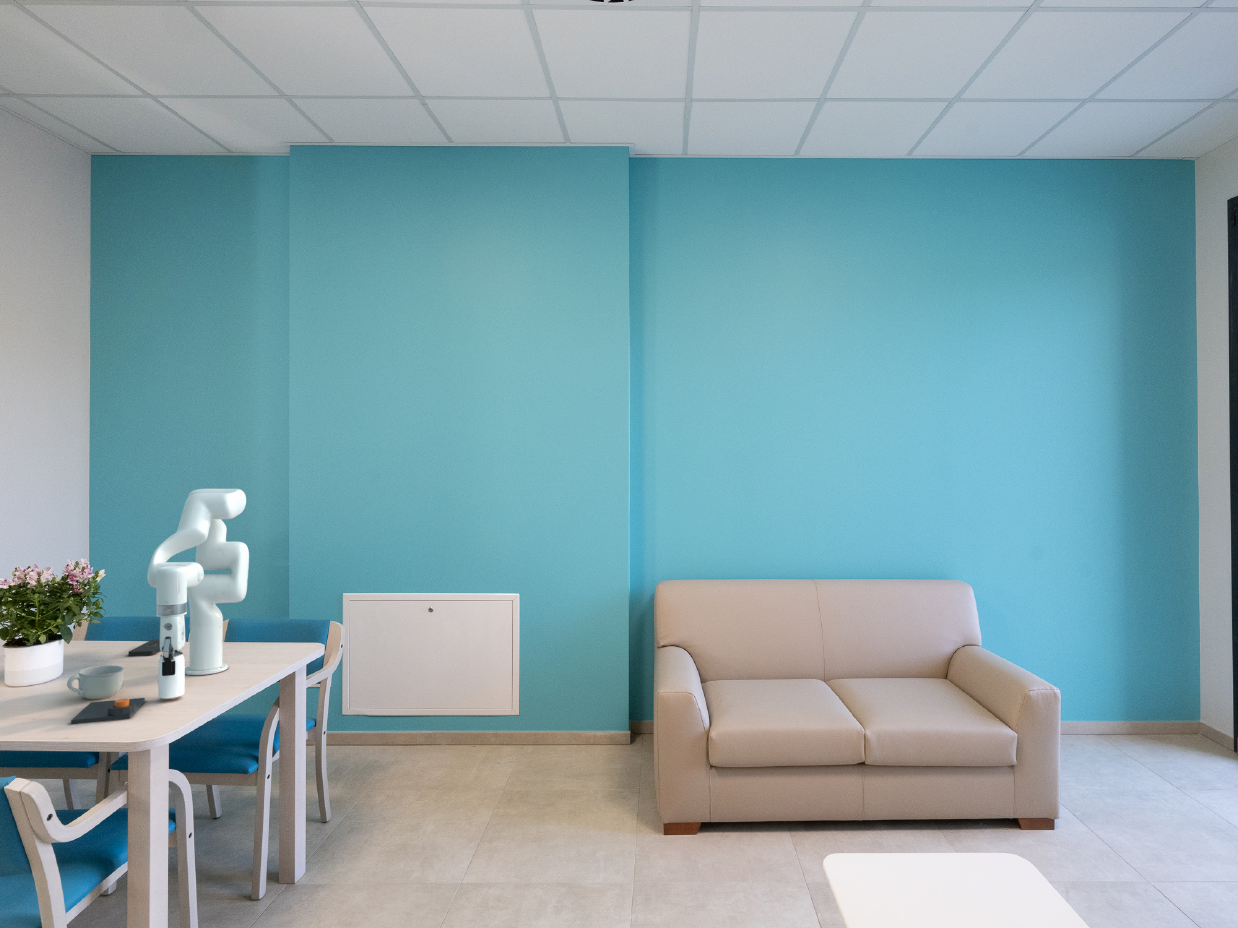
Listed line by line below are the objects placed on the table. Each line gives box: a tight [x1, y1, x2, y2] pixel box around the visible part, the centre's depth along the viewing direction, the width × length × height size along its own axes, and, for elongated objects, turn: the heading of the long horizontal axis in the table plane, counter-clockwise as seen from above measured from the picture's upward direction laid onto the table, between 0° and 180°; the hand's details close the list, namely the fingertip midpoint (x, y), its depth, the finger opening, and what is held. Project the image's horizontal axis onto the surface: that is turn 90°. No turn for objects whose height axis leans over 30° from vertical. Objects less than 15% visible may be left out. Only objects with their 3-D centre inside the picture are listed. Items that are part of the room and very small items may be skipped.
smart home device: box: [128, 638, 161, 657], centre depth 275 cm, size 8×2×20 cm
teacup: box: [66, 664, 124, 700], centre depth 215 cm, size 14×11×8 cm
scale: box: [70, 697, 146, 725], centre depth 202 cm, size 16×14×3 cm
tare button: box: [115, 698, 130, 708], centre depth 199 cm, size 3×3×2 cm
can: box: [157, 651, 186, 700], centre depth 214 cm, size 6×6×12 cm
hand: (171, 671), depth 214 cm, fingers closed on can, 6 cm apart
